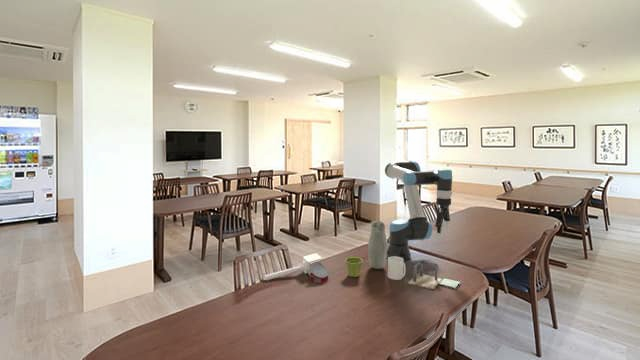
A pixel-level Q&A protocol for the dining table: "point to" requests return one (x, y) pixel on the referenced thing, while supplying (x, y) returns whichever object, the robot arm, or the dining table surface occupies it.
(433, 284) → the wire board
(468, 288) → the dining table surface
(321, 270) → the canned food
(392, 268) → the cup
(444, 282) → the pad
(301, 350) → the dining table surface
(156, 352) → the dining table surface
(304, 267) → the white handled tool
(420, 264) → the bent wire
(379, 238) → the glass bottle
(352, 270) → the plant pot
